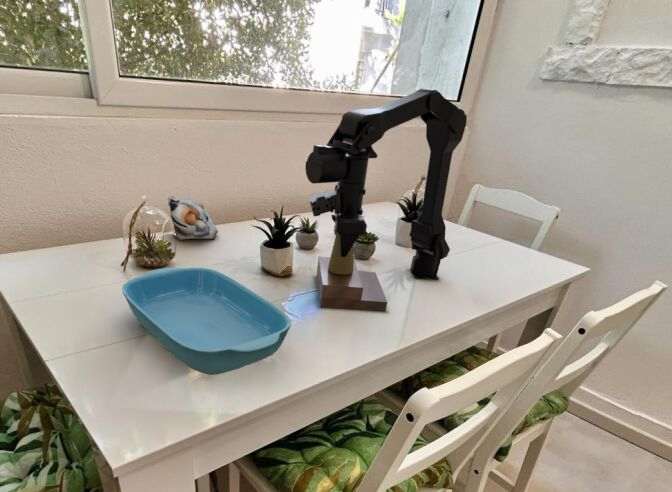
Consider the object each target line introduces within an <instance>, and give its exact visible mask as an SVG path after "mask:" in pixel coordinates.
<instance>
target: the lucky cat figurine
mask: <svg viewBox="0 0 672 492" xmlns="http://www.w3.org/2000/svg"><path fill="white" fill-rule="evenodd" d="M167 204H168V206H169V209H170V218H171V219H172V222H173V224H174V229H175V233H176V237H175V238H176V239H178V240H180V241H183V240H189V239H195V240H196V239H198V240H199V239H205V240H206V239H207V240H208V239H209V240H215V239H216V237H217V234H218V233H219V230H218V228H217V227H216V224H214V222H213V221H212V218H211V216H210V215H209V214H208V213H207V212H206V211H205V209H204V208H205V207H204V205H203V203H197V202H195V201H194V200H191V199H190V198H185V197H182V198H178V199H176V198H175V197H174V195H173V196H172V195H171V196H168V197H167Z"/></svg>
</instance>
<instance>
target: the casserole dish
mask: <svg viewBox="0 0 672 492" xmlns="http://www.w3.org/2000/svg"><path fill="white" fill-rule="evenodd" d="M121 290H122V294H123V296H124V298H125V300H126V302H127V304H128V306H129V308H130V310H131V312H132V313H133V315H134V317H135V319H137V321H138V322H139V323H140V325H142V326H143V327H144V329H146V330H147V331H148V332H149V333H150V335H152V336H153V337H154V338H155V339H156V340H157V341H158V342H159V343H160V344H161V345H163V347H164V348H165V349H167V350H168V351H169V352H170V354H172V355H173V356H174V357H175V358H176V359H177V360H179V361H181V363H183V364H184V365H186V366H187V367H189V368H190V369H192V370H194V371H196V372H198V373H200V374H201V373H202V374H204V375H208V376H210V375H211V376H217V375H221V374H225V373H229V372H232V371H235V370H239V369H241V368H244V367H245V366H249V365H251V364H255V363H257V362H259V361H260V362H261V361H263V360H264V359H267V358H269V357H270V356H272V355H274V354H275V353H277V351H278V350H279V349H280V347H281V346H282V344H283V343H284V341H285V339H286V337H287V334H288V332H289V330H290V328H291V326H292V321H291V318H290V317H289V315H287V313H286V312H284V311H283V310H282V309H281V308H279V307H278V306H276V305H275V304H273V303H272V302H270V301H269V300H268V299H266V298H264V297H263V296H261V295H259V293H256V292H254V291H253V290H252V289H250V288H248V287H247V286H245V285H243V284H242V283H240V282H239V281H237V280H235V279H234V278H232V277H231V276H229V275H227V274H225V273H223V272H221V271H219V270H216V269H212V268H207V267H164V268H157V269H152V270H149V271H146V272H144V273H142V274H141V275H139V276H138V277H137V276H136V277H134V278H132V279H130V280H127V281H126V282H124V284H123V285H122V287H121Z"/></svg>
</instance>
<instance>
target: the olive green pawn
mask: <svg viewBox="0 0 672 492" xmlns="http://www.w3.org/2000/svg"><path fill="white" fill-rule="evenodd" d="M333 234H334V236H335V238H334V241H333V245H332V250H331V253H330V257H331V258H330V262H329V266H328V270H329V271H330V272H332V273H335V274H343V275H345V274H351V273H353V266H354V261H355V259H354V252H355V251H354V250H355V249H354V248H355V247H354V245H353V246H352V248H351V249H350V251H349V253H348V254H347V256H346V257H341V250H340V235H339V234H338V233H337V232H336V231H335V228H334V227H333Z"/></svg>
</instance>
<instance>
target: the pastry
mask: <svg viewBox="0 0 672 492" xmlns="http://www.w3.org/2000/svg"><path fill="white" fill-rule="evenodd" d="M291 266H292V265H291ZM291 266H287V267H286V268H285V269H284V270H282V272H281V273H280V274H279V273H276V272H273V271H271V270H268V269H265V268H264V270H265V271H267V272H269V273H270V274H272V275H274V276H279V277H284V276H290V275H291V274H292V273H293V267H292V268H291Z"/></svg>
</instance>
